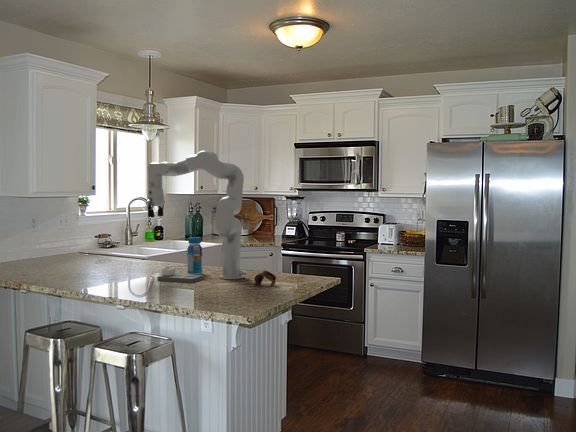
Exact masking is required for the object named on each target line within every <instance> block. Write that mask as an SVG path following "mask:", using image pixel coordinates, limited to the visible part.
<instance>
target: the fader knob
mask: <svg viewBox="0 0 576 432" xmlns="http://www.w3.org/2000/svg"><path fill="white" fill-rule="evenodd" d="M161 273H162V275H173V274H175V273H176V267H173V266H169V267H165V268H162V270H161ZM162 275H161V276H162Z"/></svg>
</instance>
